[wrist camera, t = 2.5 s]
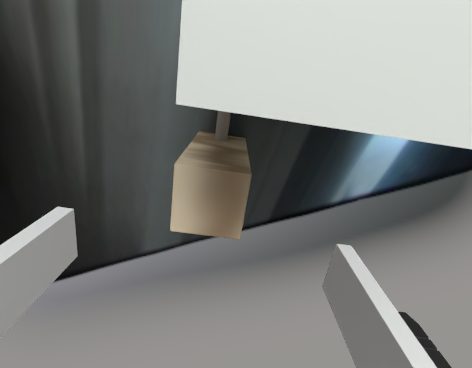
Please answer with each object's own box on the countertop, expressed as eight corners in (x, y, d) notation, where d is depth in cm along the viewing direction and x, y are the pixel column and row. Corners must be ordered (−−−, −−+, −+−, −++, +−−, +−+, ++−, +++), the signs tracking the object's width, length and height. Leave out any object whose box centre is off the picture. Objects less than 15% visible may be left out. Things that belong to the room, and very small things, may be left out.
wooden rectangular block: (194, 174, 30) (170, 230, 18) (209, 20, 24) (187, -34, 13) (238, 180, 30) (240, 239, 19) (262, 29, 24) (285, -16, 13)
